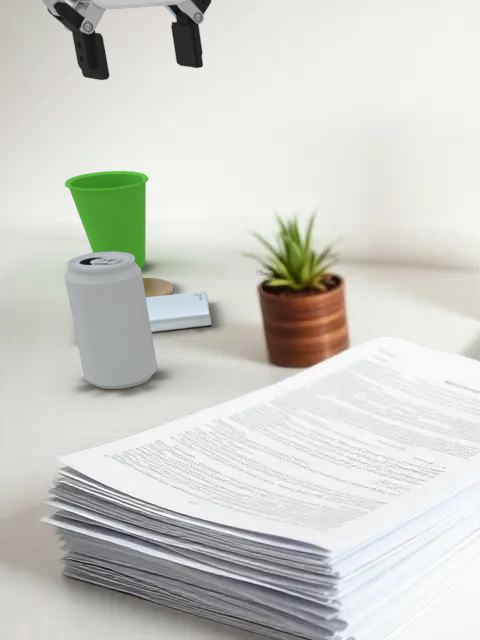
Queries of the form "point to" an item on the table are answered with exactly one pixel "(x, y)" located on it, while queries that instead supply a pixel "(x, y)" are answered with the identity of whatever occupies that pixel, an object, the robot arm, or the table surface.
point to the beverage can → (111, 319)
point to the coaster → (157, 287)
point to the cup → (112, 210)
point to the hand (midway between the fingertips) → (144, 72)
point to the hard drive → (178, 311)
